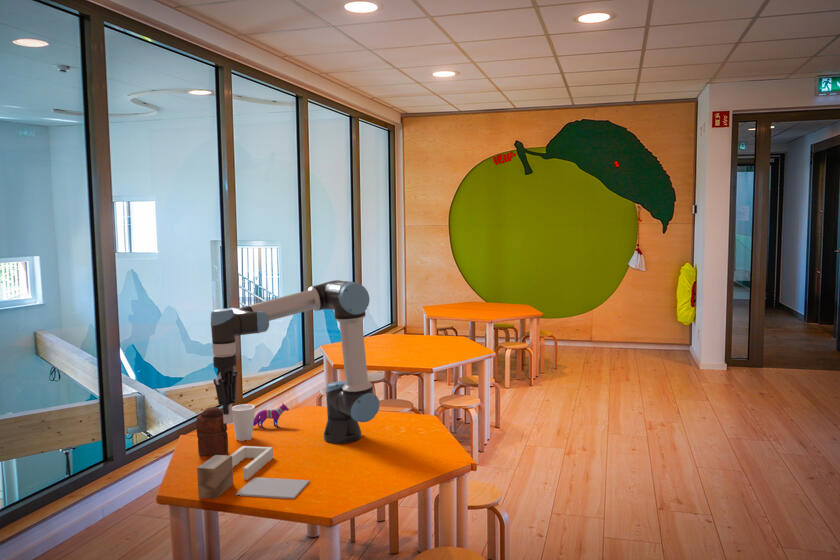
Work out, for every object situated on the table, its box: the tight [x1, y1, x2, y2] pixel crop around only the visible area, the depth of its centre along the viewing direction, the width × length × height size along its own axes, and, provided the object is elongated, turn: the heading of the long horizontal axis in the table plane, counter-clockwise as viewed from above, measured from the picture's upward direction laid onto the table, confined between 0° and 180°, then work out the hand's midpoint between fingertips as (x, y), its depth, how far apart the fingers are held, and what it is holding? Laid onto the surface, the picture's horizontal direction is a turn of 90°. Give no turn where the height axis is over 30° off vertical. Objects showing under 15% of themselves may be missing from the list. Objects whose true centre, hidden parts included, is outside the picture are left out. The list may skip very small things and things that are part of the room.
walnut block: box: [196, 454, 234, 500], centre depth 224 cm, size 6×12×10 cm, turn 168°
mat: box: [235, 476, 311, 500], centre depth 225 cm, size 20×14×1 cm
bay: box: [229, 445, 274, 481], centre depth 245 cm, size 12×22×4 cm, turn 169°
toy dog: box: [253, 403, 290, 429], centre depth 291 cm, size 4×18×10 cm, turn 99°
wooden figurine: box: [195, 406, 229, 456], centre depth 260 cm, size 12×6×18 cm, turn 96°
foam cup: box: [232, 403, 256, 442], centre depth 277 cm, size 10×9×13 cm
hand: (228, 422), depth 232 cm, fingers closed
